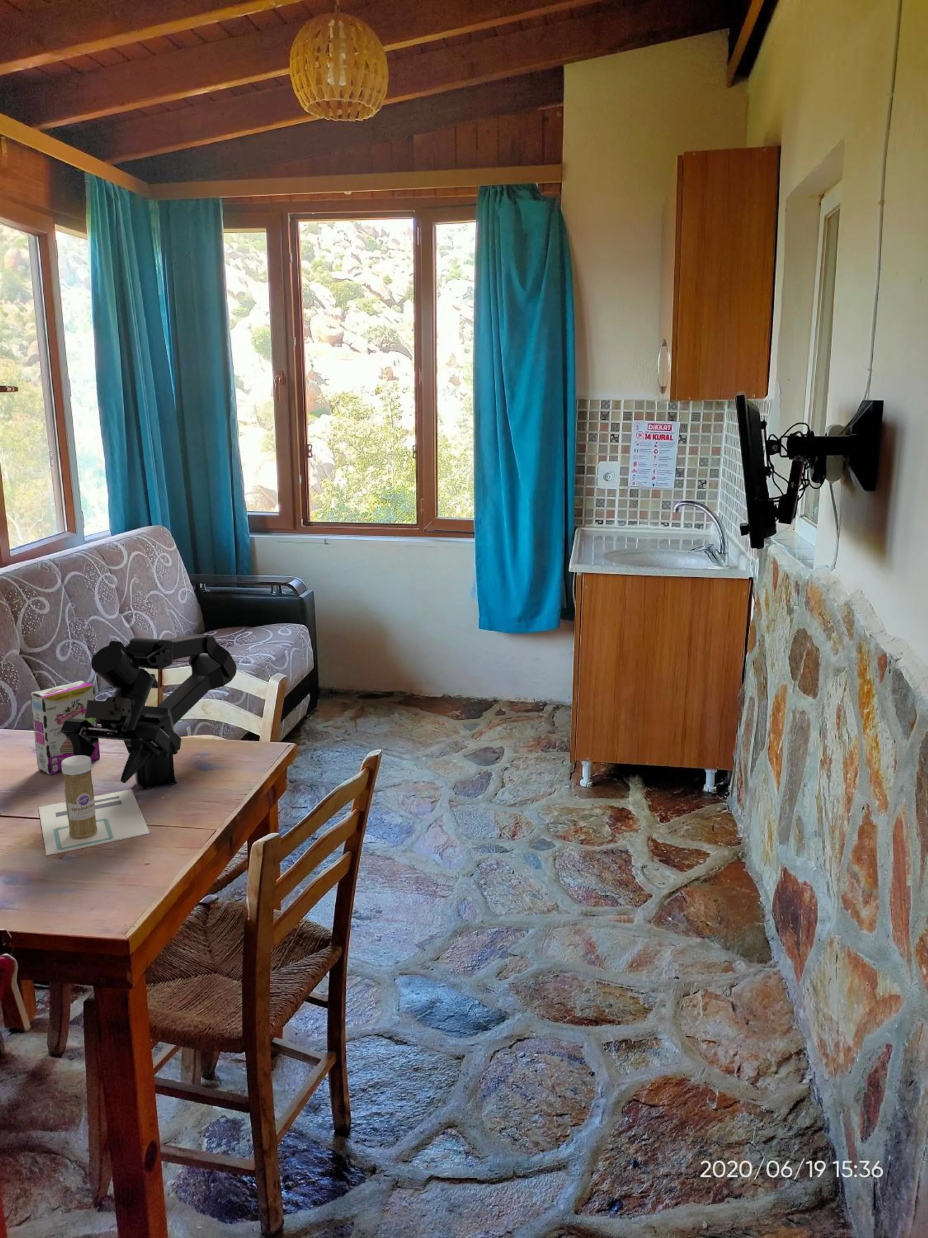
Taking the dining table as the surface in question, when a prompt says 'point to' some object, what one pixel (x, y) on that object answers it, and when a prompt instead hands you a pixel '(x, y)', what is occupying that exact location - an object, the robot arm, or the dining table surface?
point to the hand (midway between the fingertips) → (98, 780)
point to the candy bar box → (59, 722)
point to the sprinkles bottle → (79, 796)
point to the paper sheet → (113, 823)
